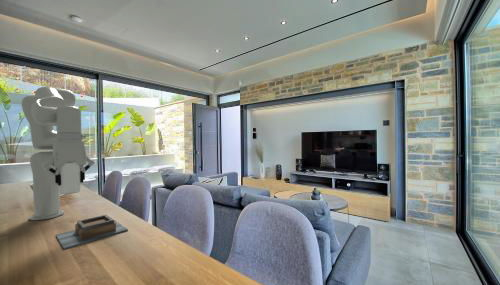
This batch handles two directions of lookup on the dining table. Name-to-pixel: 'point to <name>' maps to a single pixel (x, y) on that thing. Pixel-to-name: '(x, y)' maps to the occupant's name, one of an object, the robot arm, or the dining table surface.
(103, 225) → the board
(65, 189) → the can
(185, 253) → the dining table surface
